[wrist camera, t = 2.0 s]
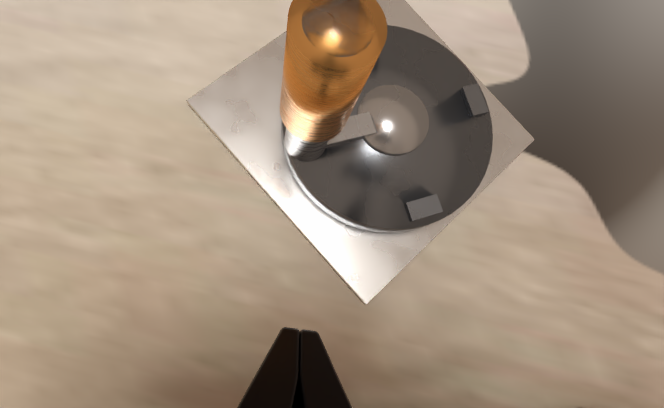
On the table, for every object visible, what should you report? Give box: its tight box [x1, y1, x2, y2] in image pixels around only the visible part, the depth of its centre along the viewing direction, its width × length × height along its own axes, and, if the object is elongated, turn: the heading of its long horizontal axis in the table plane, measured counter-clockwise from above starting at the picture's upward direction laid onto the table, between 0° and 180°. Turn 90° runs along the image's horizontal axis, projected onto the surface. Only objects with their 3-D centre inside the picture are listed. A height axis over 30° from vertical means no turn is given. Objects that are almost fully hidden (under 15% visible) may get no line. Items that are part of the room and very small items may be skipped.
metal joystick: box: [280, 0, 493, 233], centre depth 19 cm, size 12×12×12 cm
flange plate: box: [186, 0, 534, 304], centre depth 24 cm, size 15×15×3 cm
